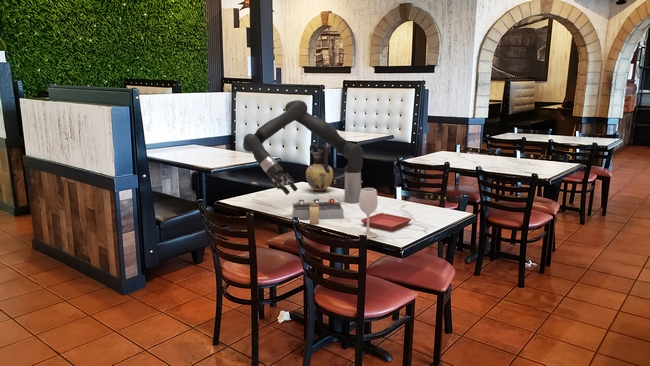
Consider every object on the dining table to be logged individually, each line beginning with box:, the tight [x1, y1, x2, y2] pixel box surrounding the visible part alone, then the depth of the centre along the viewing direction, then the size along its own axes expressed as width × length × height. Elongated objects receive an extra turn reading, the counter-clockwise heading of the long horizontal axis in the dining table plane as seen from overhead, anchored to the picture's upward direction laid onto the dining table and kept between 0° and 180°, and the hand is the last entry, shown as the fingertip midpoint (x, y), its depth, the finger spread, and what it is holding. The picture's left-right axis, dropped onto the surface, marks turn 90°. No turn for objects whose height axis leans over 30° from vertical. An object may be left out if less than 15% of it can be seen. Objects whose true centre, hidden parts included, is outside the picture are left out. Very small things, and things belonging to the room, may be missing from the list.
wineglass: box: [357, 187, 378, 239], centre depth 222 cm, size 9×9×21 cm
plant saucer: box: [360, 212, 412, 232], centre depth 240 cm, size 18×18×3 cm
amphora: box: [305, 143, 334, 194], centre depth 310 cm, size 18×17×30 cm
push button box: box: [292, 198, 345, 221], centre depth 256 cm, size 25×13×7 cm, turn 97°
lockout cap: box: [309, 201, 320, 226], centre depth 242 cm, size 4×4×10 cm
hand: (292, 191), depth 245 cm, fingers open, 8 cm apart
